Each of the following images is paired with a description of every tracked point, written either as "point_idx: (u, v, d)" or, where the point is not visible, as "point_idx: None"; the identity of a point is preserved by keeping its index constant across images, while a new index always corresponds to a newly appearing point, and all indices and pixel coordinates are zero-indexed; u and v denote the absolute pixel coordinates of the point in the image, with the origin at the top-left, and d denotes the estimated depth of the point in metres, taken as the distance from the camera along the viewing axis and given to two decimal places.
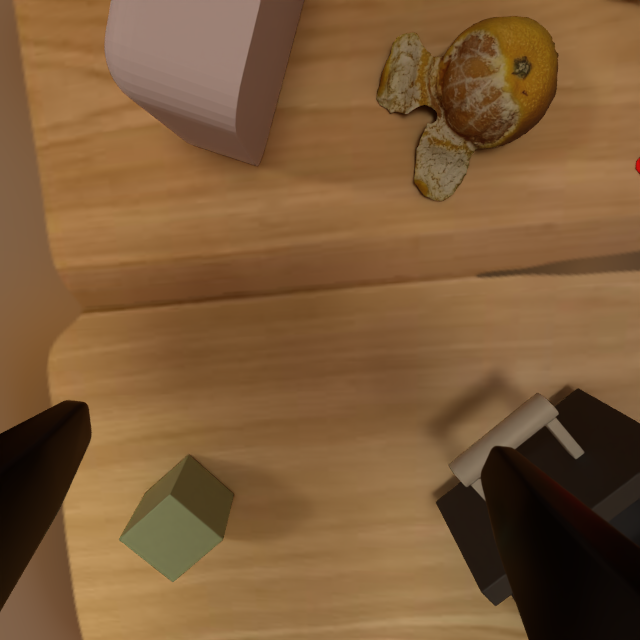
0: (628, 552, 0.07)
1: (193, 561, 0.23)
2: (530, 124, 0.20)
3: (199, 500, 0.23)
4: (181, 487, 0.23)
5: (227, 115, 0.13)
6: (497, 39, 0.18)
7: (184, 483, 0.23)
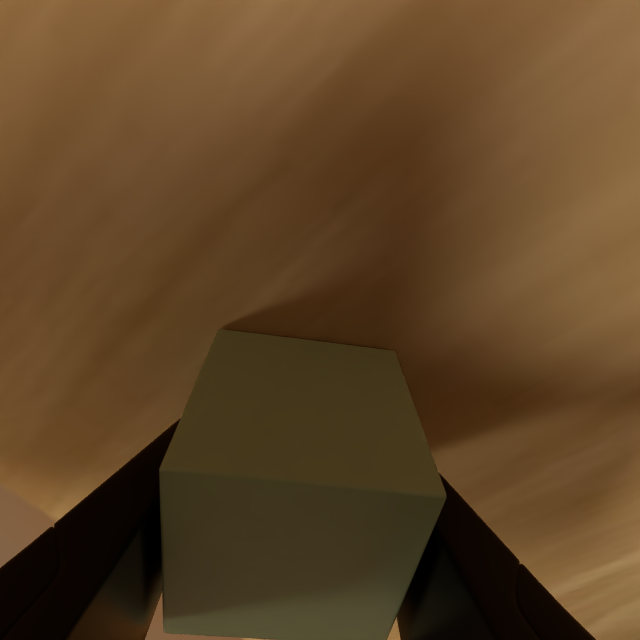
0: (479, 539, 0.06)
1: (399, 587, 0.07)
2: None
3: (296, 420, 0.07)
4: (210, 419, 0.06)
5: None
6: None
7: (219, 402, 0.07)
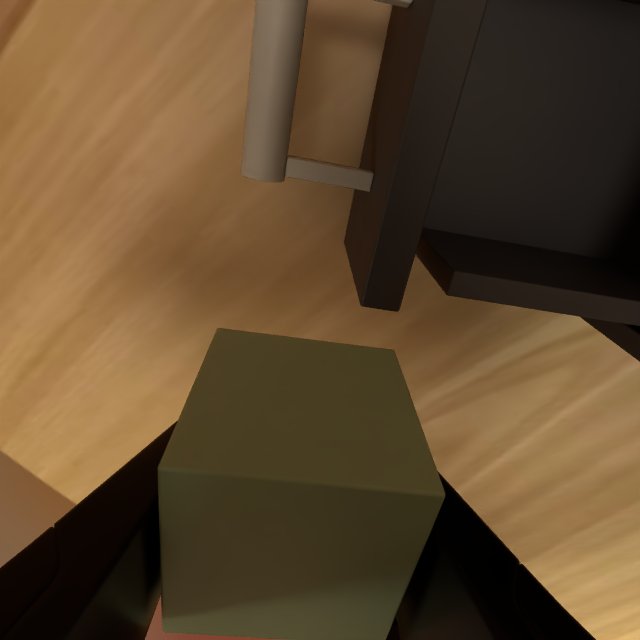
0: (479, 539, 0.06)
1: (398, 586, 0.07)
2: None
3: (294, 419, 0.07)
4: (209, 419, 0.06)
5: None
6: None
7: (218, 401, 0.07)
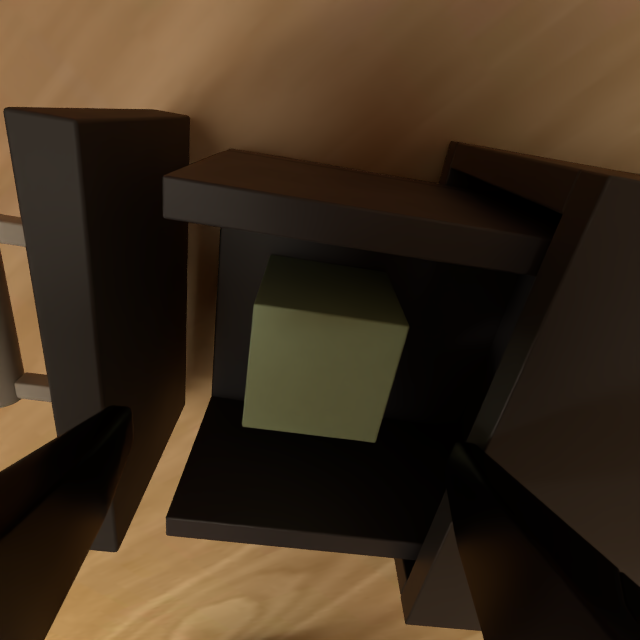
0: (576, 548, 0.06)
1: (384, 394, 0.11)
2: None
3: (324, 294, 0.11)
4: (276, 290, 0.11)
5: None
6: None
7: (279, 284, 0.12)
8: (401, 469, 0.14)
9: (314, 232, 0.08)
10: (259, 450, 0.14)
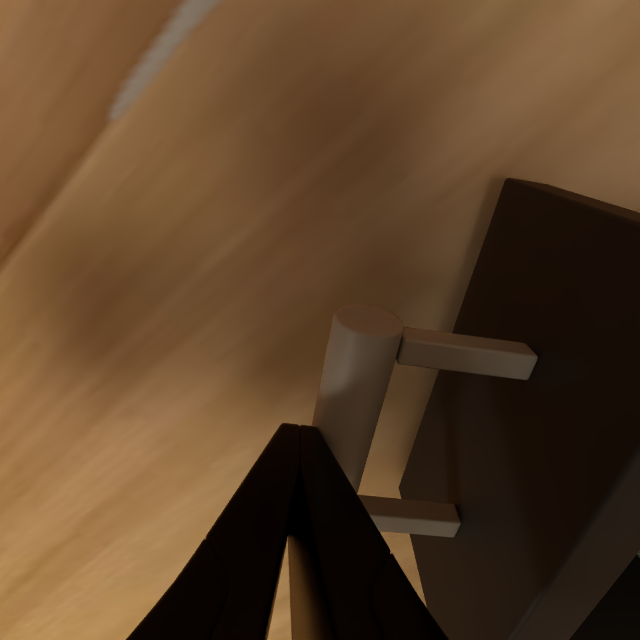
0: (354, 529, 0.06)
1: None
2: None
3: None
4: None
5: None
6: None
7: None
8: None
9: None
10: None
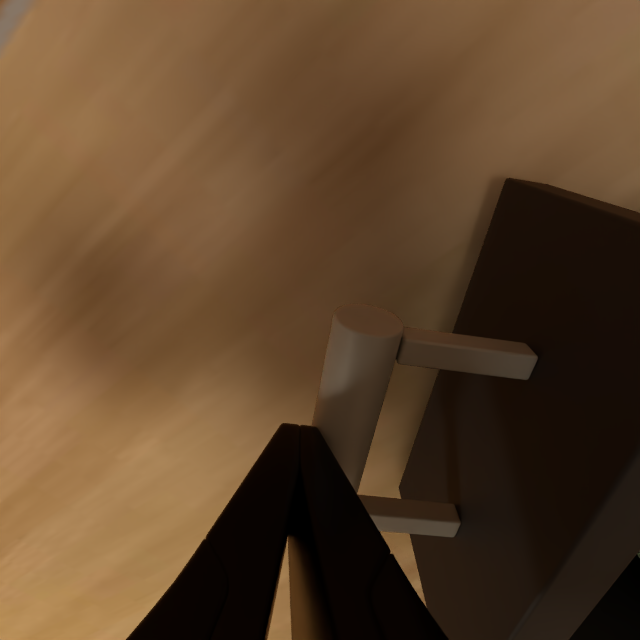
0: (354, 529, 0.06)
1: None
2: None
3: None
4: None
5: None
6: None
7: None
8: None
9: None
10: None
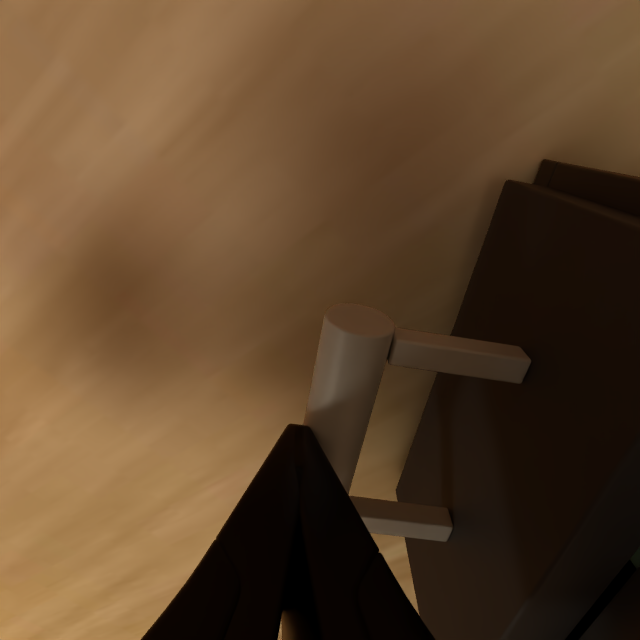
0: (343, 528, 0.06)
1: None
2: None
3: None
4: None
5: None
6: None
7: None
8: None
9: None
10: None
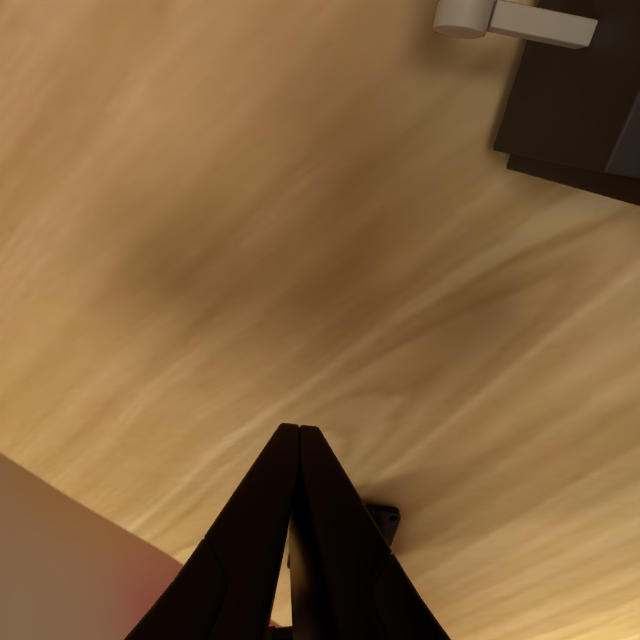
0: (355, 529, 0.06)
1: None
2: None
3: None
4: None
5: None
6: None
7: None
8: None
9: None
10: None
